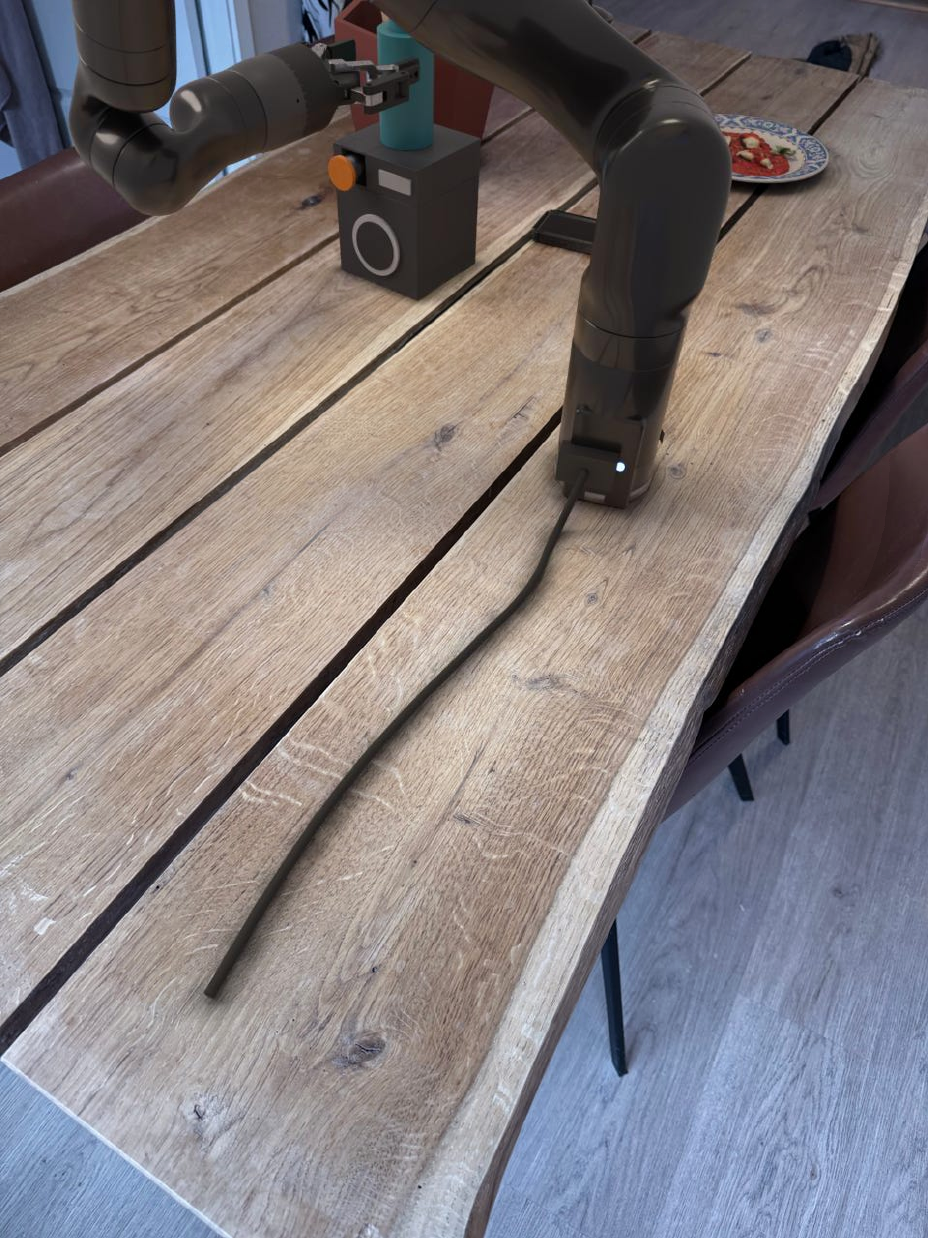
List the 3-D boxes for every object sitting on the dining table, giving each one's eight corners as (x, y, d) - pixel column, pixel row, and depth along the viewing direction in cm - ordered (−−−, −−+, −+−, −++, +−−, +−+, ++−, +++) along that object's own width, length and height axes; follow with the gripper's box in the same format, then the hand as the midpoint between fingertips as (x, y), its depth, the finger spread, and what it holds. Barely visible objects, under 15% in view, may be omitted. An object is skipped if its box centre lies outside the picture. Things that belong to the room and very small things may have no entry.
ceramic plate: (653, 184, 133) (657, 163, 131) (659, 121, 150) (662, 101, 148) (831, 204, 131) (838, 183, 128) (817, 137, 148) (823, 118, 146)
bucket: (421, 207, 125) (421, -6, 107) (305, 163, 134) (286, -42, 115) (522, 154, 139) (537, -43, 120) (410, 117, 147) (409, -73, 128)
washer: (414, 302, 108) (413, 172, 97) (338, 270, 112) (329, 142, 101) (475, 263, 115) (481, 138, 104) (401, 235, 119) (399, 112, 108)
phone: (549, 207, 124) (655, 231, 120) (548, 216, 125) (653, 239, 121) (528, 231, 119) (638, 256, 115) (527, 239, 120) (636, 265, 116)
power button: (353, 194, 101) (351, 161, 99) (329, 185, 103) (326, 152, 100) (375, 183, 103) (374, 150, 101) (351, 175, 105) (349, 142, 102)
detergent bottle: (424, 153, 100) (424, -1, 89) (372, 145, 101) (367, -8, 90) (439, 134, 104) (442, -16, 93) (390, 126, 105) (386, -23, 94)
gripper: (328, 73, 79) (440, 31, 88) (214, 37, 85) (330, 2, 94) (334, 162, 85) (438, 114, 94) (226, 123, 90) (335, 82, 99)
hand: (384, 58), depth 94 cm, fingers open, 8 cm apart
